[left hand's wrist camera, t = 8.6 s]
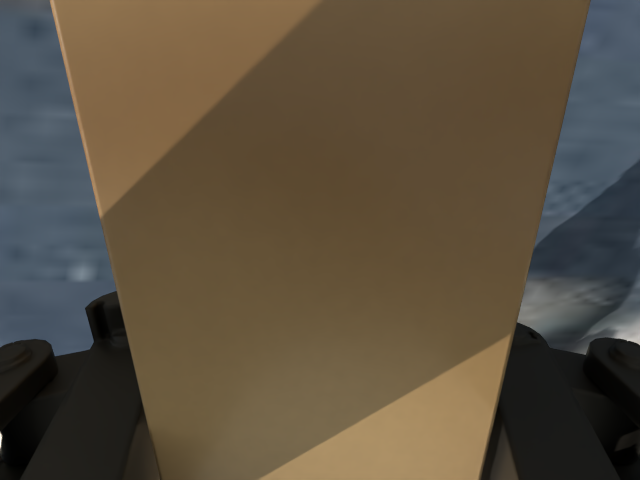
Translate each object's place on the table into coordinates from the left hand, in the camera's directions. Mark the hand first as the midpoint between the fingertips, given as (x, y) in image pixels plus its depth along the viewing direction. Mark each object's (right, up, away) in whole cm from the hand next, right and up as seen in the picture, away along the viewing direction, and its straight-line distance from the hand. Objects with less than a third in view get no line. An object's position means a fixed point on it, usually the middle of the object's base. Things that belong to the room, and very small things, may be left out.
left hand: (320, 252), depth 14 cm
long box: (0, +10, -3) cm, 10 cm away
